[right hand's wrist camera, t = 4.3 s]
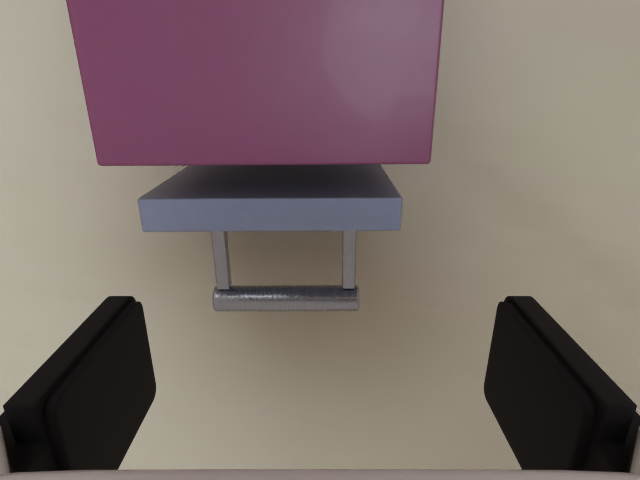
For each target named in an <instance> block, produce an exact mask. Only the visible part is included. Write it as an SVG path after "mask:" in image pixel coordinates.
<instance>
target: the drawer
mask: <svg viewBox="0 0 640 480" xmlns="http://www.w3.org/2000/svg"><path fill="white" fill-rule="evenodd" d="M138 205H139V211H140V217H141V223H142V229H143V231H144V232H192V231H211V235H212V244H213V254H214V263H215V273H216V282H217V286H216V287H215V289H214V292H213V307H214V310H215V311H357V310H358V309H359V288H358V286H357V285H355V260H356V231H399V230H400V228H401V213H402V197H401V195H400V194H399V192H398V191H397V189H396V188H395V186H394V185H393V183H392V182H391V180H390V179H389V177H388V176H387V174H386V173H385V171H384V169H383V168H382V166H381V165H380V164H326V165H189V166H188V167H186V168H185V169H183V170H182V171H180V172H178V173H177V174H175V175H174V176H172V177H171V178H169V179H168V180H166V181H165V182H163V183H162V184H160V185H159V186H157V187H156V188H154V189H153V190H151V191H150V192H148V193H146V194H145V195H143V196H142V197H140V198H139V199H138ZM227 231H343V234H342V285H296V286H231V284H232V282H231V271H230V260H229V249H228V238H227Z"/></svg>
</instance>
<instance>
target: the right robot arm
mask: <svg viewBox="0 0 640 480" xmlns="http://www.w3.org/2000/svg"><path fill="white" fill-rule="evenodd" d="M155 393H156V383H155V377H154V371H153V365H152V359H151V353H150V347H149V341H148V336H147V330H146V324H145V318H144V312H143V307H142V304H141V302H136V300H135V299H134V297H132V296H109V297H108V298H106V299H105V300H104V301H103V302H102V303H101V305H100V306H99V307H98V308H97V309H96V310H95V311H94V312H93V313H92V314H91V315H90V316H89V317H88V318H87V319H86V320H85V321H84V322H83V323H82V324H81V325H80V326H79V327H78V328H77V329H76V330H75V332H74V333H73V334H72V335H71V336H70V337H69V338H68V339H67V340H66V341H65V342H64V343H63V344H62V345H61V346H60V347H59V348H58V349H57V350H56V351H55V352H54V353H53V354H52V355H51V356H50V358H49V359H48V360H47V361H46V362H45V363H44V364H43V365H42V366H41V367H40V368H39V369H38V370H37V371H36V372H35V373H34V374H33V375H32V376H31V377H30V378H29V379H28V380H27V381H26V382H25V383H24V385H23V386H22V387H21V388H20V389H19V390H18V391H17V392H16V393H15V394H14V395H13V396H12V397H11V398H10V399H9V400H8V401H7V402H6V403H5V404H4V405H3V408H4V412H3V413H2V414H1V415H0V480H640V415H639V414H638V413H637V412H636V408H637V405H636V404H635V403H634V402H633V401H632V400H631V399H630V398H629V397H628V396H627V395H626V394H625V393H624V392H623V391H622V390H621V389H620V388H619V387H618V386H617V385H616V383H615V382H614V381H613V380H612V379H611V378H610V377H609V376H608V375H607V374H606V373H605V372H604V371H603V370H602V369H601V368H600V367H599V366H598V365H597V364H596V363H595V362H594V361H593V360H592V359H591V358H590V356H589V355H588V354H587V353H586V352H585V351H584V350H583V349H582V348H581V347H580V346H579V345H578V344H577V343H576V342H575V341H574V340H573V339H572V338H571V337H570V336H569V335H568V334H567V333H566V332H565V330H564V329H563V328H562V327H561V326H560V325H559V324H558V323H557V322H556V321H555V320H554V319H553V318H552V317H551V316H550V315H549V314H548V313H547V312H546V311H545V310H544V309H543V308H542V307H541V306H540V305H539V303H538V302H537V301H536V300H535V299H534V298H532V297H531V296H508V297H506V299H505V300H504V302H499V304H498V307H497V312H496V318H495V324H494V330H493V336H492V341H491V347H490V353H489V359H488V365H487V371H486V377H485V383H484V393H485V397H486V400H487V402H488V404H489V406H490V408H491V410H492V412H493V414H494V416H495V418H496V419H497V421H498V423H499V425H500V427H501V429H502V431H503V433H504V435H505V437H506V439H507V441H508V443H509V445H510V447H511V449H512V451H513V453H514V454H515V456H516V458H517V460H518V462H519V464H520V466H521V468H522V470H460V469H180V470H118V468H119V466H120V464H121V462H122V460H123V458H124V456H125V454H126V453H127V451H128V449H129V447H130V445H131V443H132V441H133V439H134V437H135V435H136V433H137V431H138V429H139V427H140V425H141V423H142V421H143V419H144V418H145V416H146V414H147V412H148V410H149V408H150V406H151V404H152V402H153V400H154V397H155Z"/></svg>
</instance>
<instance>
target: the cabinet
mask: <svg viewBox="0 0 640 480" xmlns="http://www.w3.org/2000/svg"><path fill="white" fill-rule="evenodd" d="M66 2H67V7H68V12H69V17H70V22H71V28H72V33H73V38H74V43H75V48H76V53H77V58H78V64H79V69H80V74H81V79H82V84H83V89H84V95H85V100H86V105H87V110H88V115H89V120H90V126H91V131H92V136H93V141H94V146H95V151H96V157H97V162H98V164H99V165H101V166H159V165H326V164H428V163H430V161H431V149H432V138H433V126H434V114H435V103H436V91H437V79H438V67H439V56H440V44H441V32H442V20H443V9H444V0H66Z"/></svg>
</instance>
